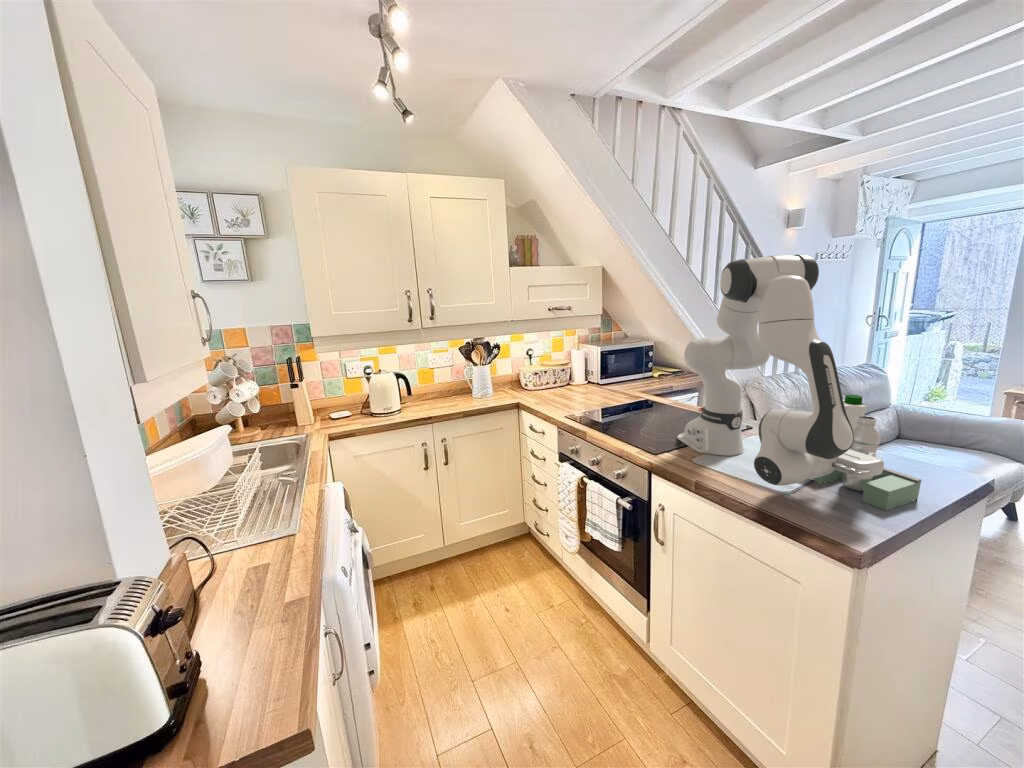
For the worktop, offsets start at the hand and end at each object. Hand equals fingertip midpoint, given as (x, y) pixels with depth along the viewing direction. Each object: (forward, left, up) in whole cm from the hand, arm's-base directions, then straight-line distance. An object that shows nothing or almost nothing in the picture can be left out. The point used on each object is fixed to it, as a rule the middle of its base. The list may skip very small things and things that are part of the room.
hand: (851, 448), depth 102 cm
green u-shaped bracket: (0, +5, -12) cm, 13 cm away
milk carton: (-15, +21, -12) cm, 28 cm away
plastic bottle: (0, +4, -12) cm, 13 cm away
